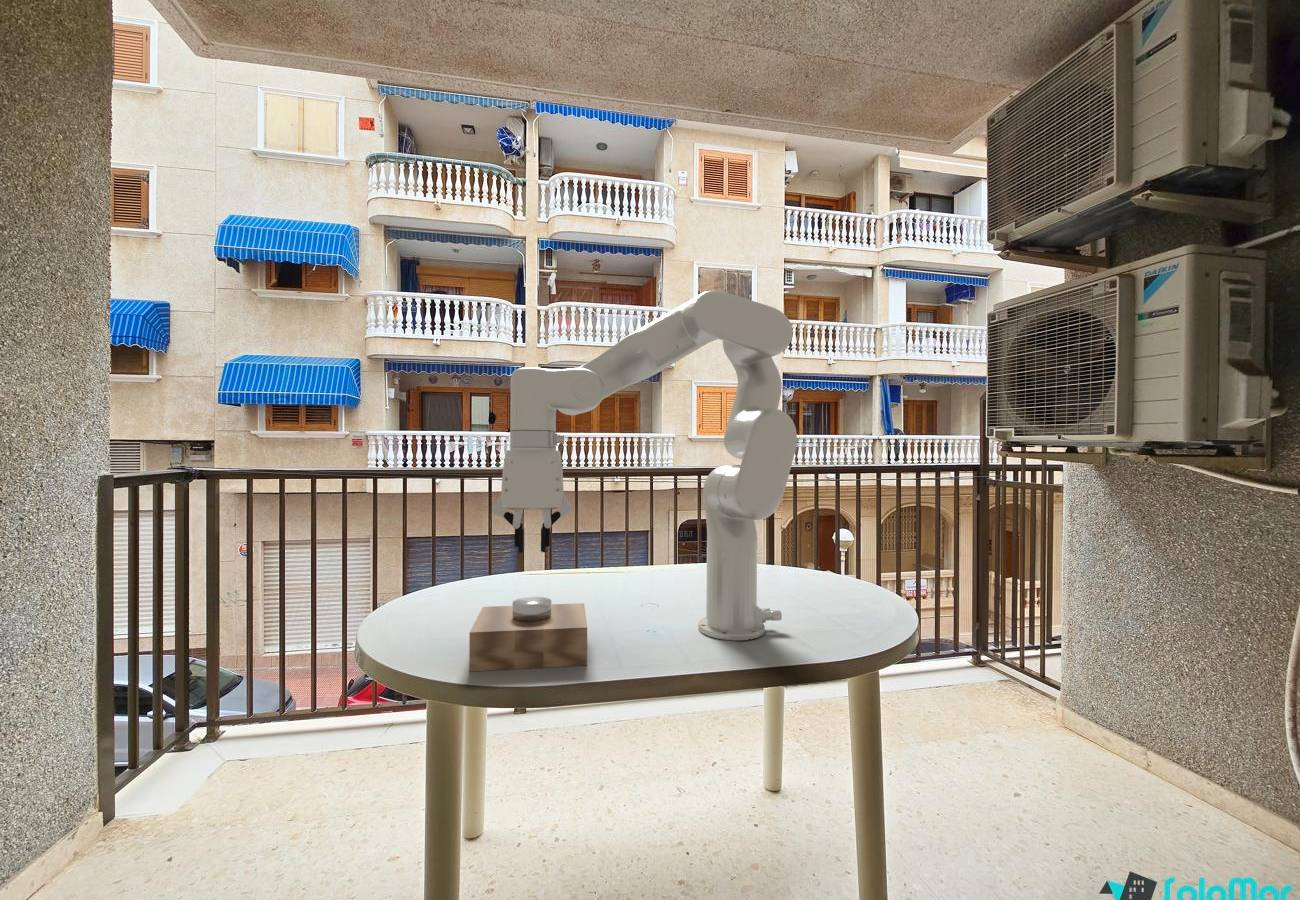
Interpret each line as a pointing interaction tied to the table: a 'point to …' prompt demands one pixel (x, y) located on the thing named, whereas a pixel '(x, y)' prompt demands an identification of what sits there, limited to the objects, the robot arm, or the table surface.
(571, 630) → the walnut block
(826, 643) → the table surface
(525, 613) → the steel pin
